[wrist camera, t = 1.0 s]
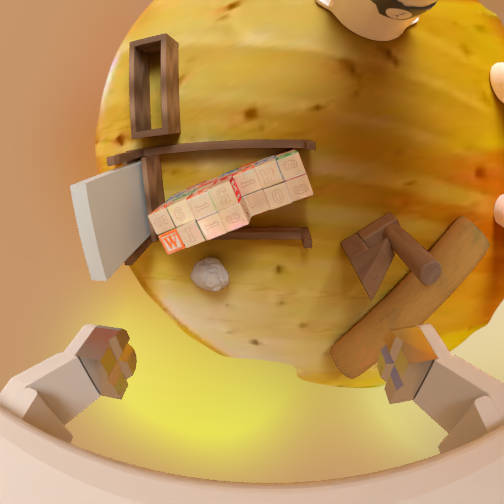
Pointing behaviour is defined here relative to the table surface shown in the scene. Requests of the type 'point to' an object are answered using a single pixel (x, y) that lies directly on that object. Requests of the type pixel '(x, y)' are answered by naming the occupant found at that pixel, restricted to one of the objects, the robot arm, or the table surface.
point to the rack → (153, 161)
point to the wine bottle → (498, 80)
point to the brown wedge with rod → (387, 253)
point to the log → (412, 298)
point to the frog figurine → (210, 274)
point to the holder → (141, 86)
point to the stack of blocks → (230, 200)
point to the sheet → (111, 217)
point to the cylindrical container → (499, 210)
